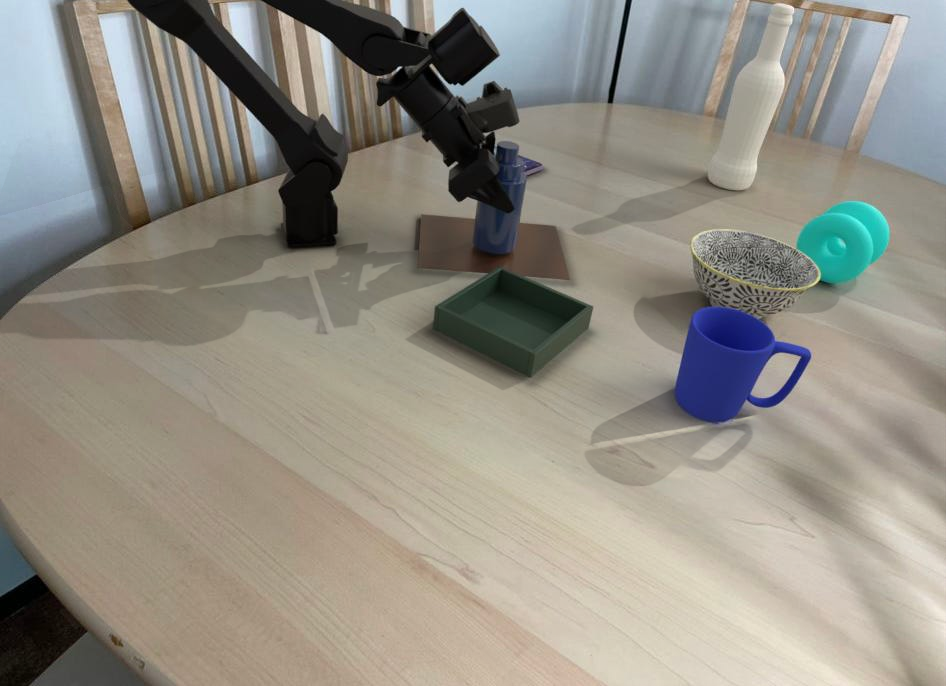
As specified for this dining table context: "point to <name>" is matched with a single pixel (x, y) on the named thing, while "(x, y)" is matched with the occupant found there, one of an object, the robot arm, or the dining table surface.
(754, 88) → the bottle
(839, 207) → the turquoise yo-yo
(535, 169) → the smartphone
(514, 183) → the blue bottle
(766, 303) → the bowl
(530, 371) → the tray
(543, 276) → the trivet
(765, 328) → the mug
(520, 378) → the dining table surface
